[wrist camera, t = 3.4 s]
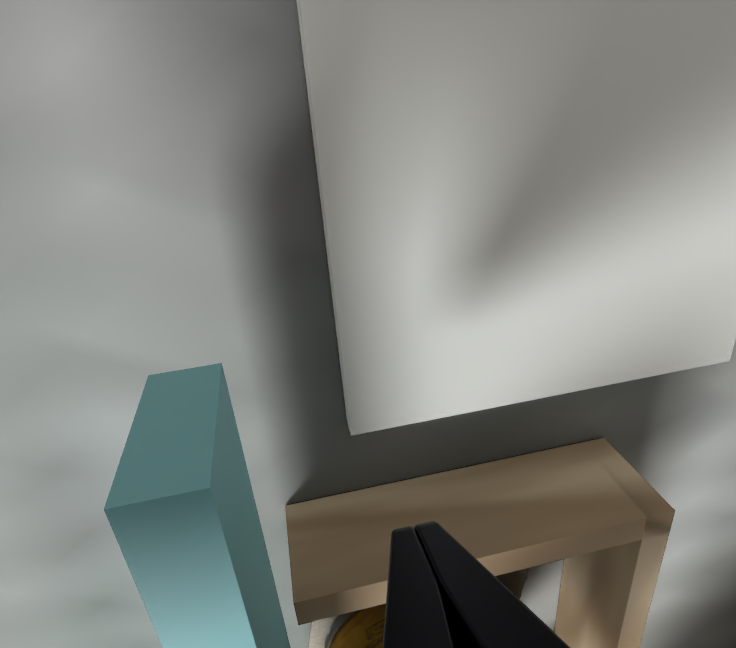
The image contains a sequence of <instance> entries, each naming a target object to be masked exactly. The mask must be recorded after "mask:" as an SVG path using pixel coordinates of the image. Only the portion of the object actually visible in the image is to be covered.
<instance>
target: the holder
mask: <svg viewBox="0 0 736 648" xmlns="http://www.w3.org/2000/svg"><path fill="white" fill-rule="evenodd" d="M285 508H286V520H287V532H288V544H289V555H290V567H291V579H292V591H293V602H294V607H295V612H296V616H297V621H298V625H301V624H305V623H309V622H313V621H317V620H321V619H325V618H329V617H333V616H337V615H341V614H345V613H349V612H353V611H357V610H361V609H365V608H369V607H373V606H377V605H381V604H385V603H386V596H387V582H388V569H389V555H390V541H391V532H392V531H393V530H394V529H398V528H402V527H407V526H412V527H413V528H414V526H415V525H417V524H420V523H425V522H429V521H436V522H438V523H439V524H440V525H441V526H442V527H443V528H444V529H445V530H446V531H447V532H448V533H449V534H450V535H452V536H453V537H454V538H455V539H456V540H457V541H458V542H459V543H460V544H461V545H462V546H463V547H464V548H465V549H466V550H467V551H468V552H470V553H471V554H472V555H473V556H474V557H475V558H476V559H477V560H478V561H479V562H480V563H481V564H482V565H483V566H484V567H485V568H487V569H488V570H489V571H490V572H491V573H492V574H493V575H494V576H498V575H502V574H506V573H510V572H514V571H518V570H522V569H526V568H530V567H534V566H538V565H542V564H546V563H550V562H554V561H558V560H562V559H564V564H563V572H562V579H561V586H560V594H559V601H558V608H557V616H556V623H555V631H554V633H555V634H556V635H558V636H559V637H560V638H561V639H562V640H563V641H564V642H565V643H566V644H567V645H568V646H569V647H570V648H639V647H640V643H641V639H642V635H643V632H644V628H645V624H646V620H647V616H648V613H649V609H650V605H651V601H652V597H653V593H654V590H655V586H656V582H657V578H658V574H659V571H660V567H661V563H662V559H663V555H664V551H665V548H666V544H667V540H668V536H669V532H670V529H671V525H672V521H673V517H674V513H675V510H674V509H673V508H672V507H671V506H670V505H669V504H668V503H667V502H666V501H665V500H664V499H663V498H662V497H661V496H660V495H659V494H658V493H657V491H656V490H655V489H654V488H653V487H652V486H651V485H650V484H649V483H648V482H647V481H646V480H645V479H644V478H643V477H642V476H641V475H640V474H639V473H638V472H637V471H636V470H635V469H634V468H633V467H632V466H631V465H630V464H629V463H628V462H627V461H626V460H625V459H624V458H623V457H622V456H621V455H620V454H619V453H618V452H617V451H616V450H615V449H614V448H613V447H612V446H611V445H610V443H609V442H608V441H607V440H606V439H605V438H600V439H596V440H591V441H586V442H582V443H577V444H572V445H568V446H563V447H558V448H554V449H549V450H544V451H539V452H535V453H530V454H525V455H521V456H516V457H511V458H507V459H502V460H497V461H493V462H488V463H483V464H479V465H474V466H469V467H465V468H460V469H455V470H451V471H446V472H441V473H437V474H432V475H427V476H423V477H418V478H413V479H409V480H404V481H399V482H395V483H390V484H385V485H380V486H376V487H371V488H366V489H362V490H357V491H352V492H348V493H343V494H338V495H334V496H329V497H324V498H320V499H315V500H310V501H306V502H301V503H296V504H292V505H287V506H285Z"/></svg>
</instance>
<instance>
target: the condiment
mask: <svg viewBox="0 0 736 648" xmlns="http://www.w3.org/2000/svg"><path fill="white" fill-rule="evenodd" d="M528 569H529V568H526V569H522V570H518V571H514V572H510V573H506V574H502V575H498V576H495V577H496V578H497V579H498V580H499V581H500V582H501V583H502V584H503V585H505V586H506V587H507V588H508V589H509V590H510V591H511V592H512V593H513V594H514V595H515V596H516V597H517V598H518V599H520V597H521V592H522V588H523V584H524V582H525V580H526V578H527V573H528ZM385 610H386V603H385V604H381V605H377V606H373V607H369V608H365V609H361V610H357V611H353V612H349V613H345V614H341V615H337V616H333V617H329V618H325V619H321V620H317V621H313V622H312V627H311V634H310V641H309V648H383V638H384V624H385Z"/></svg>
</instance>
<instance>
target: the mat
mask: <svg viewBox="0 0 736 648" xmlns="http://www.w3.org/2000/svg"><path fill="white" fill-rule="evenodd" d="M296 1H297V9H298V18H299V26H300V34H301V42H302V51H303V59H304V67H305V76H306V84H307V92H308V101H309V109H310V117H311V126H312V134H313V142H314V151H315V159H316V167H317V175H318V184H319V192H320V200H321V209H322V217H323V225H324V234H325V242H326V250H327V259H328V267H329V275H330V284H331V292H332V300H333V308H334V317H335V325H336V333H337V342H338V350H339V358H340V367H341V375H342V383H343V392H344V400H345V408H346V417H347V423H348V427H349V430H350V434H351V436H353V435H358V434H363V433H368V432H373V431H378V430H383V429H388V428H393V427H398V426H403V425H408V424H413V423H418V422H424V421H429V420H434V419H439V418H444V417H449V416H454V415H459V414H464V413H469V412H474V411H479V410H484V409H489V408H494V407H500V406H505V405H510V404H515V403H520V402H525V401H530V400H535V399H540V398H545V397H550V396H555V395H560V394H565V393H570V392H576V391H581V390H586V389H591V388H596V387H601V386H606V385H611V384H616V383H621V382H626V381H631V380H636V379H641V378H646V377H652V376H657V375H662V374H667V373H672V372H677V371H682V370H687V369H692V368H697V367H702V366H707V365H712V364H717V363H723V362H728V361H730V358H731V354H732V351H733V347H734V343H735V340H736V0H296Z"/></svg>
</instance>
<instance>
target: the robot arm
mask: <svg viewBox="0 0 736 648" xmlns="http://www.w3.org/2000/svg"><path fill="white" fill-rule="evenodd" d="M383 648H570V647H569V646H568V645H567V644H566V643H565V642H564V641H563V640H562V639H561V638H560V637H559V636H558V635H556V634H555V633H554V632H553V631H552V630H551V629H550V628H549V627H548V626H547V625H546V624H545V623H544V622H543V621H542V620H541V619H540V618H538V617H537V616H536V615H535V614H534V613H533V612H532V611H531V610H530V609H529V608H528V607H527V606H526V605H525V604H524V603H523V602H521V601H520V600H519V599H518V598H517V597H516V596H515V595H514V594H513V593H512V592H511V591H510V590H509V589H508V588H507V587H506V586H505V585H503V584H502V583H501V582H500V581H499V580H498V579H497V578H496V577H495V576H494V575H493V574H492V573H491V572H490V571H489V570H488V569H487V568H485V567H484V566H483V565H482V564H481V563H480V562H479V561H478V560H477V559H476V558H475V557H474V556H473V555H472V554H471V553H470V552H468V551H467V550H466V549H465V548H464V547H463V546H462V545H461V544H460V543H459V542H458V541H457V540H456V539H455V538H454V537H453V536H452V535H450V534H449V533H448V532H447V531H446V530H445V529H444V528H443V527H442V526H441V525H440V524H439V523H438V522H436V521H429V522H425V523H420V524H417V525H415V526H414V528H413V527H412V526H407V527H402V528H398V529H394V530H393V531H392V532H391V541H390V555H389V569H388V582H387V596H386V610H385V624H384V638H383Z"/></svg>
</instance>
